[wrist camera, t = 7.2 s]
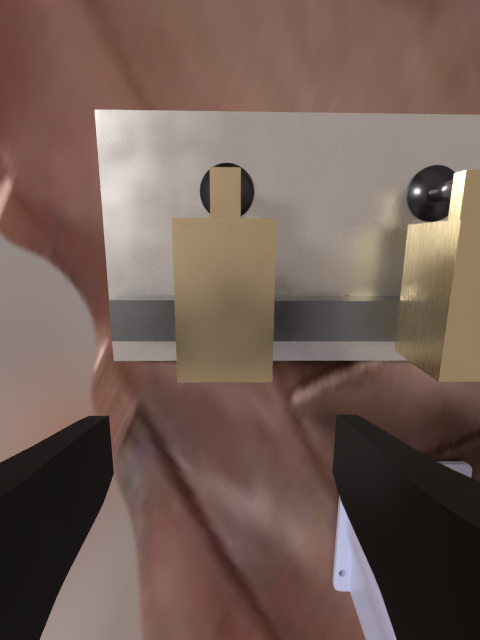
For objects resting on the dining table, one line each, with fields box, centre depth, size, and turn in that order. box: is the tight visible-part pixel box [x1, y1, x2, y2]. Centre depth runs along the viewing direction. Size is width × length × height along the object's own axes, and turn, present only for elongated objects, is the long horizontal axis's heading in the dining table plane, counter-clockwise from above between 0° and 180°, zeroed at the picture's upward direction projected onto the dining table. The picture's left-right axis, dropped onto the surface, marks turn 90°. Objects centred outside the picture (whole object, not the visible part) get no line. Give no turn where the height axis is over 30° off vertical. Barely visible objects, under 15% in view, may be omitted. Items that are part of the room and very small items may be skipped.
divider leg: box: [172, 167, 277, 382], centre depth 15 cm, size 8×4×5 cm, turn 0°
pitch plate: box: [95, 110, 480, 382], centre depth 16 cm, size 12×20×7 cm, turn 90°
